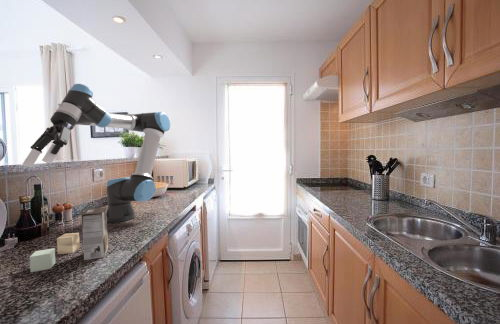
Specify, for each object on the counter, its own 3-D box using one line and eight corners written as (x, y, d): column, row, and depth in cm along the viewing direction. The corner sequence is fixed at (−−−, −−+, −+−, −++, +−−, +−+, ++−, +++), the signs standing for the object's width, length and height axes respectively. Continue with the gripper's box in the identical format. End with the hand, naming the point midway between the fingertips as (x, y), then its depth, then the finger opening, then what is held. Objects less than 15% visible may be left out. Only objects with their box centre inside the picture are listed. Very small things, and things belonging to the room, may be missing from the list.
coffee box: (89, 251, 90) (86, 208, 89) (108, 247, 92) (106, 206, 92) (83, 260, 82) (80, 214, 81) (105, 257, 84) (102, 212, 83)
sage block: (36, 265, 79) (35, 251, 79) (55, 262, 81) (54, 248, 81) (30, 272, 74) (29, 256, 74) (50, 268, 77) (49, 253, 76)
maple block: (65, 249, 93) (64, 233, 92) (79, 247, 94) (79, 232, 93) (57, 254, 88) (56, 238, 87) (72, 252, 89) (72, 237, 88)
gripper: (39, 116, 96) (7, 162, 86) (75, 104, 86) (43, 155, 76) (58, 127, 102) (30, 171, 92) (94, 117, 91) (67, 165, 82)
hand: (36, 164), depth 84 cm, fingers open, 13 cm apart
